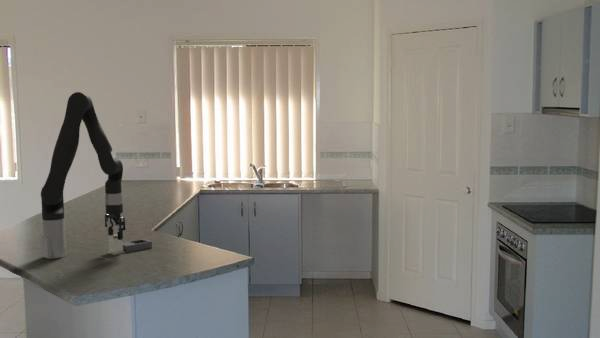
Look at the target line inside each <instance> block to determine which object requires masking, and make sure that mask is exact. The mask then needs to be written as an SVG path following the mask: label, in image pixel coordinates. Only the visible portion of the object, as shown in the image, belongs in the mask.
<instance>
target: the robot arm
mask: <svg viewBox="0 0 600 338" xmlns="http://www.w3.org/2000/svg"><path fill="white" fill-rule="evenodd" d="M67 99H68V100H67V103H66V108H65V114H64V117H63V118H64V119H63V121H62V125H61V127H60V130H59V133H58V137H57V139H56V142H55V145H54V149H53V152H52V157H51V163H50V168H49V172H48V176H47V178H46V180H45V183H44V185H43V186H42V188H41V191H40V199H41V219H42V235H41V250H42V258H45V259H47V260H50V259H52V260H53V259H54V260H55V259H60V258H61V259H62V258H64V257H66V256H67V247H66V246H67V244H66V243H67V241H66V225H65V224H66V223H65V207H64V206H65V202H64V201H65V200H64V188H65V183H66V180H67V176H68V174H69V173H70V172H69V171H70V170H71V167H72V164H73V162H74V160H75V157H76V154H77V151H78V147H79V143H80V129H81V123H82V122H83V123H84V125H85V128H86V130H87V133H88V137H89V141H90V142H91V145H92V146H93V149H94V151H95V153H96V155H97V159H98V163H99V166H100V167H99V168H100V169H101V170H102V172H103V173H104V174H105V175H107V179H106V180H105V183H104V190H105V192H104V193H105V194H104V195H105V196H104V201H105V203H104V204H105V206H104V207H105V214H104V227H105V228H107V236H108V235H112V234H114V228H115V229H116V231H117V232H116V234H117V235H118V240H122V239H123V238H124V234H123V232H124V231H126V218H125V216H121V214H123V212H124V206H123V205H124V203H123V193H122V180H123V174H124V173H123V172H124V166H123V162H122V161H121V160H120V159H119V158H116V157H114V158H113V155H112V152H113V147H112V145H111V143H110V141H109V139H108V137H107V135H106V134H105V131H104V130H103V128H102V126H101V123H100V120H99V119H98V116H97V113H96V110H95V107H94V106H95V105H94V103H93V100H92V98H91V97H90V96H89V95H88V94H86V93H84V92H81V91H75V92H73V93H72V94H71V95H70V96H69V97H68V98H67ZM123 240H124V239H123Z"/></svg>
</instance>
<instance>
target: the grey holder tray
mask: <svg viewBox="0 0 600 338" xmlns="http://www.w3.org/2000/svg"><path fill="white" fill-rule="evenodd" d="M152 248H153V242H152V240H148V239H145V238H141V239H136V240H130V241H123V252H126V253H132V252H133V253H134V252H137V251H143V250H147V249H148V250H149V249H152Z"/></svg>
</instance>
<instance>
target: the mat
mask: <svg viewBox="0 0 600 338" xmlns="http://www.w3.org/2000/svg"><path fill="white" fill-rule="evenodd" d="M106 253H107V254H110V255H113V256H116V255H120V254H125V253H127V252H122V253H117V254H112V253H109V251H108V252H106Z"/></svg>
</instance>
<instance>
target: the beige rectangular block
mask: <svg viewBox="0 0 600 338" xmlns="http://www.w3.org/2000/svg"><path fill="white" fill-rule="evenodd" d="M107 237H108V252H109V253H112V254H116V255H118V254H117V253H121V254H123V253H122V252H123V242H124V241H123V240H124V239H122V240H118V235H117V233H113V234H112V235H108V234H107ZM109 253H108V254H109ZM112 254H111V255H112Z"/></svg>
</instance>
